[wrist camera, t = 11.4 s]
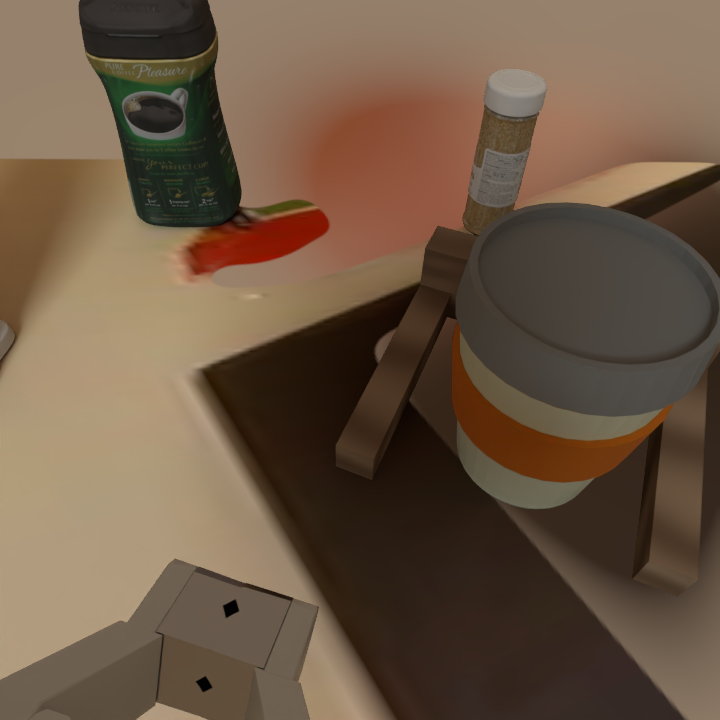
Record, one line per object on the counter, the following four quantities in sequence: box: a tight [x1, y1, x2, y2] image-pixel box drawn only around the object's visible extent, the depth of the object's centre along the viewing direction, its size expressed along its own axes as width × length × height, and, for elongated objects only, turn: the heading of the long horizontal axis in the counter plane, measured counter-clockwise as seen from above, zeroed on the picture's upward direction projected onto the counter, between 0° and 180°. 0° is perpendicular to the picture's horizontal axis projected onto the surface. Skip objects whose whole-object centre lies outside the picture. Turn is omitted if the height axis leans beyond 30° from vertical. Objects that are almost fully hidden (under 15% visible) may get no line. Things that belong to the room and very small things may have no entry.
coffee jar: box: [79, 0, 241, 227], centre depth 50 cm, size 10×8×19 cm
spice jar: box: [463, 69, 547, 235], centre depth 51 cm, size 5×5×14 cm
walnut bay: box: [336, 226, 720, 596], centre depth 40 cm, size 19×21×6 cm
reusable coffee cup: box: [451, 203, 720, 509], centre depth 34 cm, size 12×13×15 cm
